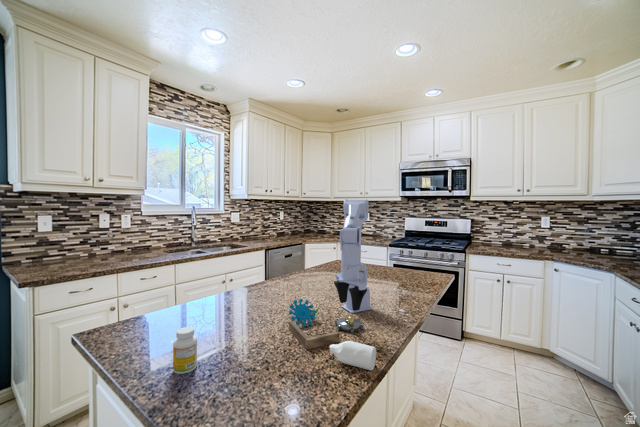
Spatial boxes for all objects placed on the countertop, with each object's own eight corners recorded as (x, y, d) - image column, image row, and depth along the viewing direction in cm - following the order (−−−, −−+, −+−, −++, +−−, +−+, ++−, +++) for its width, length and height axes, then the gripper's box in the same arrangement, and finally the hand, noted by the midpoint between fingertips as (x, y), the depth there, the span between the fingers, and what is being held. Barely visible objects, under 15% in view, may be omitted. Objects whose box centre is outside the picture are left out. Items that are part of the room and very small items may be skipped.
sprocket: (333, 321, 100) (333, 308, 100) (357, 320, 101) (358, 307, 101) (338, 333, 90) (338, 320, 90) (366, 332, 91) (366, 318, 91)
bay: (318, 323, 98) (318, 316, 98) (339, 341, 85) (339, 332, 85) (288, 329, 93) (288, 321, 93) (306, 349, 80) (306, 340, 80)
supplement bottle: (178, 362, 73) (178, 325, 72) (200, 361, 73) (200, 325, 73) (169, 375, 67) (169, 335, 67) (192, 374, 68) (192, 334, 68)
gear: (291, 325, 92) (288, 297, 99) (286, 332, 96) (283, 305, 103) (321, 324, 97) (316, 298, 103) (315, 331, 100) (311, 305, 107)
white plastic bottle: (334, 352, 79) (334, 333, 78) (376, 363, 74) (376, 342, 73) (325, 363, 73) (325, 342, 73) (370, 375, 68) (370, 352, 68)
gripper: (328, 261, 95) (327, 301, 95) (352, 270, 82) (351, 316, 82) (345, 259, 98) (345, 298, 98) (371, 268, 85) (370, 312, 86)
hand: (349, 306), depth 91 cm, fingers open, 7 cm apart
